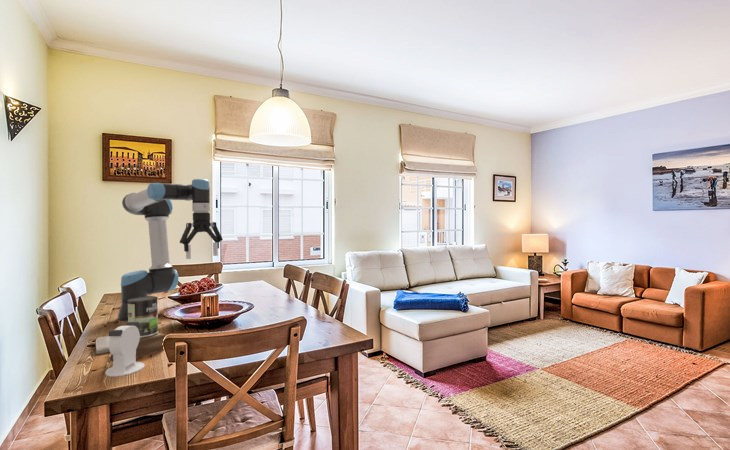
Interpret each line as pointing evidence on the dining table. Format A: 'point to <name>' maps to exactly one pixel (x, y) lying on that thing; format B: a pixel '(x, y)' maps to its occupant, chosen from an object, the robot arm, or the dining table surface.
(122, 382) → the dining table surface
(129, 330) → the white small appliance
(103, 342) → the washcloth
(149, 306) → the coffee can
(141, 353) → the walnut box
